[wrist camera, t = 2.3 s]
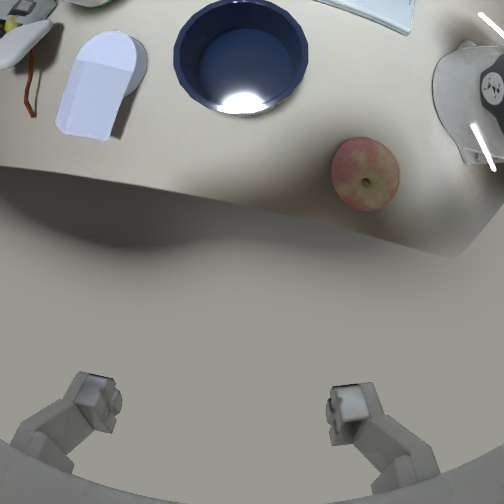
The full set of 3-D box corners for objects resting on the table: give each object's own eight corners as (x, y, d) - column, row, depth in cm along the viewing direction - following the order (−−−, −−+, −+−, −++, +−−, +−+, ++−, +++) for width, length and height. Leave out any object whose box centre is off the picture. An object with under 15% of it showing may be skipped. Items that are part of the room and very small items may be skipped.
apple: (317, 140, 32) (334, 146, 25) (376, 131, 31) (406, 135, 24) (329, 203, 35) (347, 225, 28) (385, 192, 34) (413, 211, 27)
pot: (295, 26, 26) (305, -2, 18) (296, 116, 31) (308, 114, 23) (195, 29, 26) (174, 3, 18) (195, 118, 31) (173, 117, 23)
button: (15, 68, 20) (58, 24, 23) (11, 59, 18) (56, 15, 21) (-27, 79, 18) (13, 35, 22) (-31, 71, 17) (10, 28, 20)
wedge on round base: (120, 138, 32) (158, 43, 27) (93, 144, 26) (137, 29, 21) (69, 121, 31) (102, 32, 26) (38, 125, 25) (75, 21, 19)
